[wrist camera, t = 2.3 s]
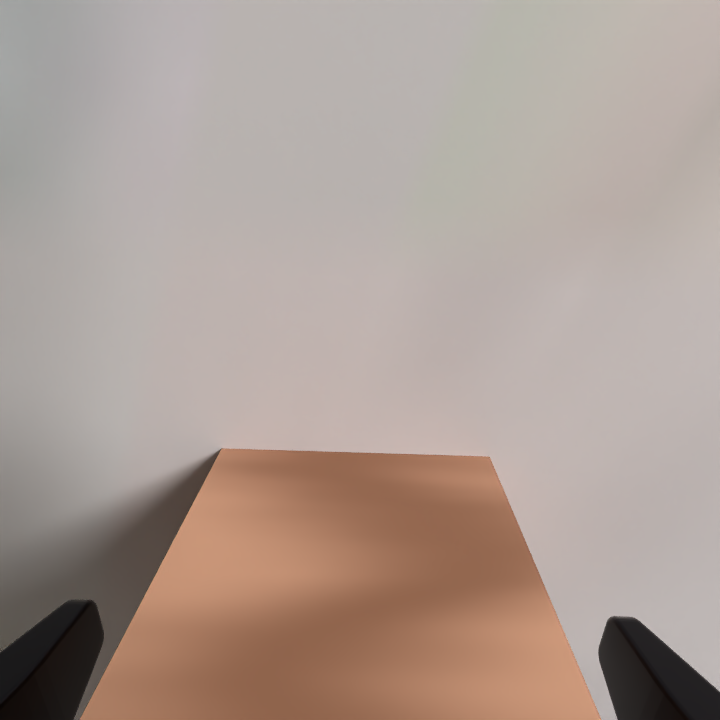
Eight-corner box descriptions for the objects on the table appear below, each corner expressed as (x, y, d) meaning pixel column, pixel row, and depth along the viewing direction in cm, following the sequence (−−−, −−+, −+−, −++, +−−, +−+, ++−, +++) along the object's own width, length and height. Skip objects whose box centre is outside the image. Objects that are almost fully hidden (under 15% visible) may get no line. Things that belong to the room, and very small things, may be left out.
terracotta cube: (488, 455, 9) (705, 966, 3) (460, 640, 11) (561, 1160, 5) (222, 447, 9) (-34, 938, 3) (241, 633, 11) (103, 1143, 5)
